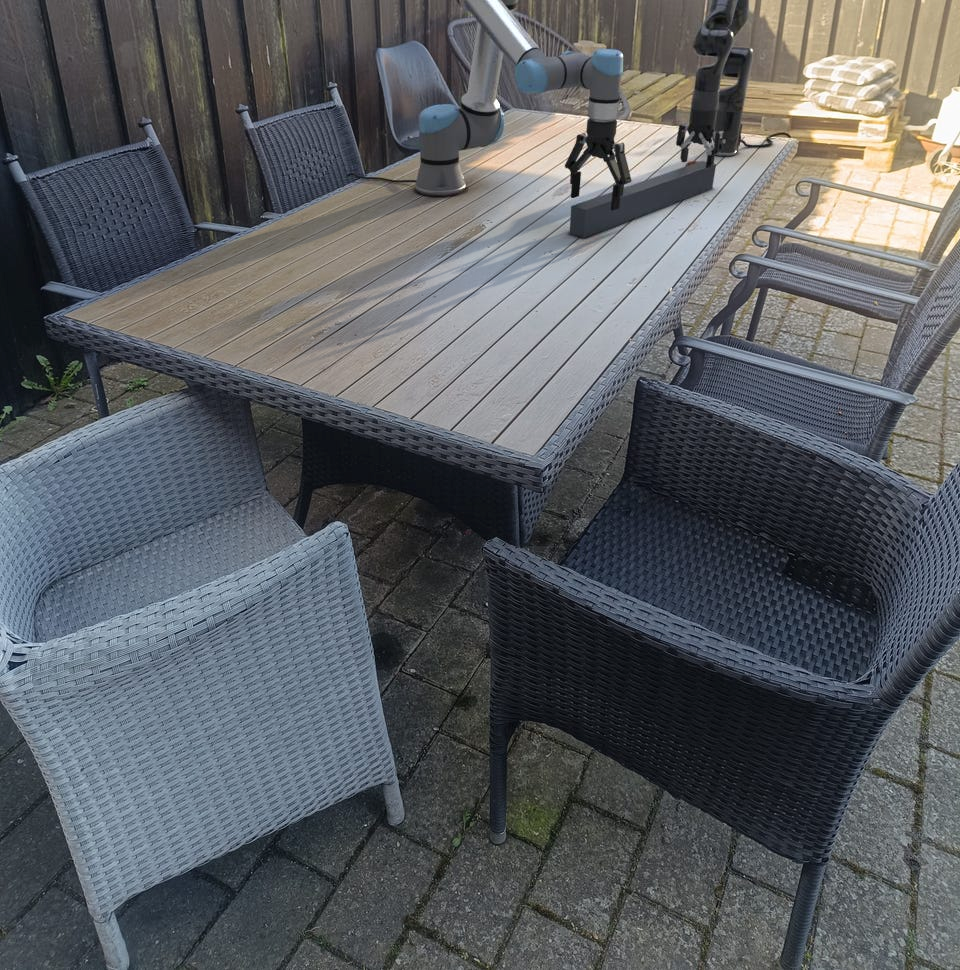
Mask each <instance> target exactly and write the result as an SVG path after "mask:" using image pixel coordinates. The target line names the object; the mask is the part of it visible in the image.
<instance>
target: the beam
mask: <svg viewBox="0 0 960 970" xmlns="http://www.w3.org/2000/svg"><path fill="white" fill-rule="evenodd" d="M716 168H717V163H715V162H714V164H713V165H712V166H711V167H710V168H706V160H701V161H698V162H697V163H694V164H691V165H689V166H686V167H685V166H683V167H680V168H677V169H675V170H671V171H669V172H666V173H663V174H660V175H657V176H654V177H651V178H648V179H645V180H642V181H640V182H636V183H633V184H631V185H628V186H624V190H623V196H622V197H620V206H619V209H616V210H613V211H612V210H611V202H612V192H613V191H610V192H608V193H605V194H601V195H599V196H596V197H593V198H590V199H587V200H583V201H582V202H578V203H576V204H573V205H571V206H570V216H569V217H570V219H569V234H570V235H572V236H576V237H578V238H583V239H585V238H587V237H590V236H593V235H596V234H599V233H601V232H604V231H606V230H608V229H612V228H613V227H616V226H619V225H621V224H624V223H627V222H629V221H632V220H634V219H637V218H640V217H642V216H644V215H648V214H650V213H653V212H655V211H658V210H661V209H663V208H666V207H669V206H671V205H674V204H675V203H679V202H681V201H684V200H686V199H690V198H692V197H694V196H697V195H700V194H702V193H705V192H707V191H710V190H713V188H714V187H713V186H714V180H715V173H716Z"/></svg>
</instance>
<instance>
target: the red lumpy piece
mask: <svg viewBox="0 0 960 970" xmlns="http://www.w3.org/2000/svg"><path fill="white" fill-rule="evenodd" d="M697 162H699V161H697V160H690V161H687V163H685V165H684V167H686V166H689V165H691V164H694V163H697Z"/></svg>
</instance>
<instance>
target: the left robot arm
mask: <svg viewBox="0 0 960 970" xmlns="http://www.w3.org/2000/svg"><path fill="white" fill-rule="evenodd" d="M455 1H456V2H457V4H458V5H459V7H460V8H461V9H462V10H463V11H465V12H468V13H469V12H470V14H471V15H472V16H473V17H474V19H475V20H476V21H477V22H476V28H475V29H476V30H475V38H474V44H473V50H472V56H471V57H472V58H471V65H470V72H469V78H468V86H467V92H466V93H464V94H463V95H462V96H461V97H460V106H459V108H458V106H457V105H455V104H453V103H452V104H451V103H450V104H449V103H443V104H434V105H431V106H428V107H426V108H424V109H422V111H421V112H420V114H419V116H418V134H419V135H418V136H419V157H420V158H419V159H420V161H419V162H420V164H419V168H418V172H417V176H416V179H390V178H385V177H380V176H379V177H378V176H361V175H359V174H357V173H355V172H349V173H347V175H346V177H351V176H354V177H356V178H358V179H360V180H361V179H362V180H375V181H376V180H377V181H385V182H390V183H395V184H396V183H397V184H400V183H414V184H415V185H414V186H415V192H417V193H418V194H420V195H424V196H430V197H450V196H455V195H459V194H461V193H463V192H464V191H466V181H465V177H464V174H463V172H462V169H461V165H460V152H461V151H466V150H471V149H477V148H486V147H488V146H491V145H495V144H496V143H498V141H499V140H500V139H501V138H502V135H503V133H504V130H505V124H506V123H505V122H506V121H505V118H504V116H505V115H504V111H503V109H502V108H501V104H500V101H499V100H498V99H497V94H498V87H499V82H500V76H501V69H502V64H503V58H504V56H505V58H506V59H507V61H508V62H509V63H510V64H511V66H512V67H513V68H514V81H515V82H516V87H517V89H518V90H519V91H520V92H521V93H523V94H541V93H546V92H551V91H557V90H564V89H571V88H582V89H584V90H589V96H588V106H587V107H588V108H587V117H588V118H587V120H586V131H585V132H586V133H585V132H583V133H579V134H577V135H576V139H575V143H574V145H573V148H572V149H571V152H570V154H569V156H568V158H567V159H566V162H565V163H564V169H568V170H569V172H570V177H569V184H570V185H571V186H570V187H571V188H570V189H571V190H570V199H576V198H578V197H580V193H581V192H580V191H581V180H582V171H580V170H581V168H582V167H583V165H584V164H585V163H586V162H587V161H589V159H590V157H593V158H598V159H601V160H603V161H604V163H606V165H607V168H608V169H609V172H610V174H611V176H612V178H613V180H614V182H615V184H613V185H612V191H611V192H612V202H611V210H612V211H613V210H616V209H619V206H620V197H622V196H623V190H624V188H625V185H627V184H630V183H632V181H633V180H632V177H631V174H630V173H631V172H630V168H629V164H628V161H627V157H626V152H625V151H626V150H625V145H626V144H625V142H619V143H618V142H616V141H615V137H616V134H617V129H618V128H617V126H618V121H617V118H618V117H619V108H620V107H619V106H620V97H621V86H622V78H623V73H624V55H623V53H622V51H620V50H618V49H612V48H600V49H596V50H594V51H593V52H592V55H590V54H586V53H582V52H580V51H577V50H575V51H573V50H566V51H564V52H562V53H561V54H560V55H555V56H547V55H546V54H545V53H544V51H542V50H541V48H540V47H539V45H538V44H537V43H536V42H535V41H534V40H533V38H532V36H531V35H530V34H529V33H528V31H527V30H525V28H524V27H523V26H522V25H521V23H520V22H519V20H517V18H516V17H515V15H514V14H513V13H512V12H514V11H515V10H517V8H518V2H519V0H455ZM585 144H586V146H587V147H586V148H585V149H584V146H585ZM583 149H584V150H583ZM582 150H583V152H582ZM581 152H582V154H581ZM580 154H581V155H580Z"/></svg>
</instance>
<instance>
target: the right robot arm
mask: <svg viewBox="0 0 960 970" xmlns="http://www.w3.org/2000/svg"><path fill="white" fill-rule="evenodd" d="M749 14H750V0H710V3H709V8H708V11H707V15H706V17H705V19H704V21H703V22H702V24H701V25H700V27H699V28H698V30H697V32H696V34H695V36H694V39H693V42H692V48H693V52H694V53H695V55H697V56H698V57H707V58H717V59H716V61H715V62H713V63H712V64H706V65H701V66H699V67H698V68H697V69H696V72H695V79H694V80H695V81H694V89H693V92H692V97H691V103H690V104H691V105H690V112H689V118H688V123H689V124H687V123H682V124H679V125H678V130H677V135H676V141H675V145H676V146H677V147H680V156H679V157H680V158H679V159H680V162H681V163H686V162H688V159H689V151H690V149H689V147H690V146H691V144H698V145H700V146H702V145H703V148H704V149H705V150H706V152H707V156H706V160H705V162H706V168H710V167H711V166H712V165H713V164H714V163H715V156H717V157H731V156H735V155H736V154H738V153H739V148H740V146H741V143H742V144H743V146H745V147H747V148H765V147H769V146H772V145H773V143H774V142H773V141H772V140H771V138H774V137H777V136H786V137H787V138H788V139H789V138H792V136H791V134H790V133H787V132H784V131H783V132H776V133H773V134H770V135H768V136H766V138H765V140H766V141H767V142H768V143H764V144H763V143H762V144H748V143H747V142H746V141H745V140H743V139H742V136H741V135H742V130H743V123H742V119H743V113H744V108H745V101H746V96H747V90H748V84H749V79H750V75H751V70H752V66H753V61H754V49H753V48H752V47H750V46H739V45H737V46H736V45H734V40H735V37H736V36H738V34H739V33H740V32H741V31H742V30H743V28H745V25H747V22H748V20H749ZM722 77H724V78H730V79H731V78H732V79H737V81H736V82H735V83H734V84H732V85H730V86H726V87H723V88H721V82H722ZM686 133H688V136H687V137H686Z"/></svg>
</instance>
